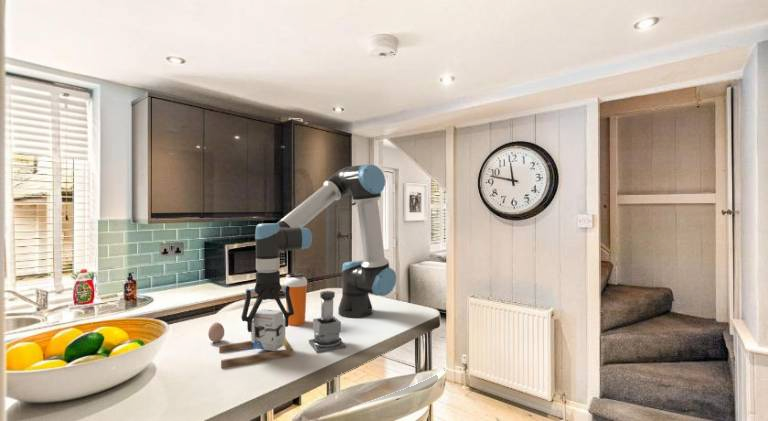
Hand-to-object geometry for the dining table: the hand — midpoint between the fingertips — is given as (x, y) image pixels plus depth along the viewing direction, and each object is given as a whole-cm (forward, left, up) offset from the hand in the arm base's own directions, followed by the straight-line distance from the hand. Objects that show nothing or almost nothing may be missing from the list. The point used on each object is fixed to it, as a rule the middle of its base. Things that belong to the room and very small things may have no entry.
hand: (268, 338), depth 125 cm
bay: (+4, 0, -4) cm, 6 cm away
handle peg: (-19, +3, +1) cm, 19 cm away
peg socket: (-19, +3, -4) cm, 20 cm away
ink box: (0, 0, -3) cm, 3 cm away
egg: (+15, -17, -4) cm, 23 cm away
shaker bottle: (-15, -26, -4) cm, 30 cm away
